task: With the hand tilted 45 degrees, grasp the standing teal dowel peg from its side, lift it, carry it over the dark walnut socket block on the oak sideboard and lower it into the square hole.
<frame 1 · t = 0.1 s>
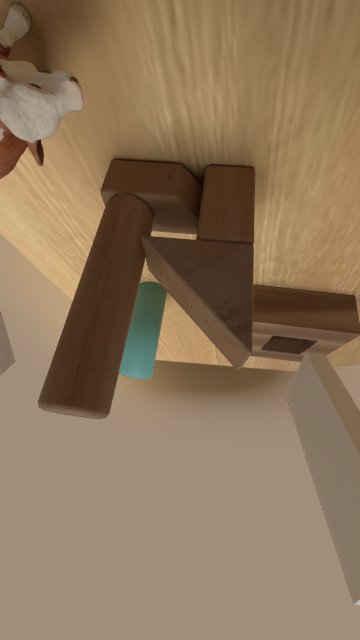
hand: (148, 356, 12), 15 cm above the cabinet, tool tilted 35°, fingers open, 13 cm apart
peg: (152, 290, 36), on the cabinet
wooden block: (182, 181, 21), on the cabinet
bull figurine: (21, 78, 16), on the cabinet
socket block: (285, 312, 37), on the cabinet
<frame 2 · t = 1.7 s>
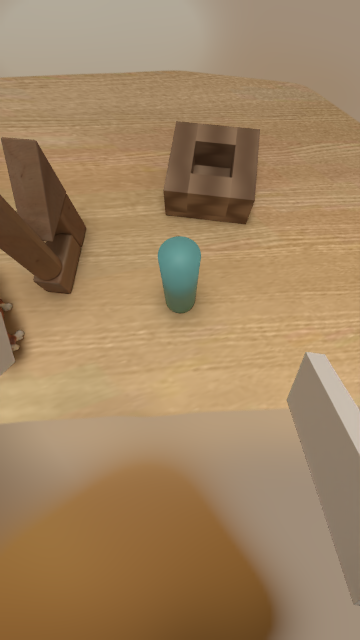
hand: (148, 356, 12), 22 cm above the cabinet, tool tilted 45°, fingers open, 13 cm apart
peg: (180, 299, 36), on the cabinet
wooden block: (67, 258, 38), on the cabinet
bull figurine: (6, 319, 36), on the cabinet
socket block: (209, 186, 41), on the cabinet
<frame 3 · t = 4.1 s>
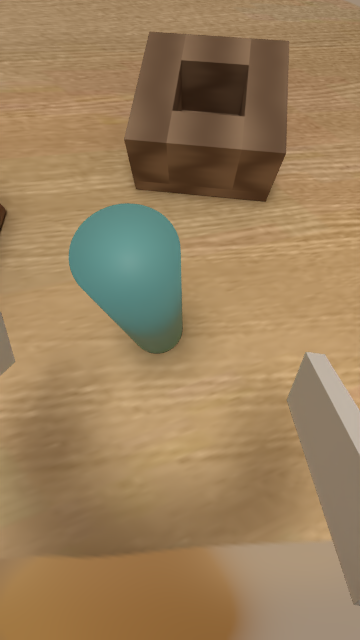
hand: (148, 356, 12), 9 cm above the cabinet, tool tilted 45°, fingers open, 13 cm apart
peg: (157, 328, 21), on the cabinet
socket block: (206, 144, 26), on the cabinet
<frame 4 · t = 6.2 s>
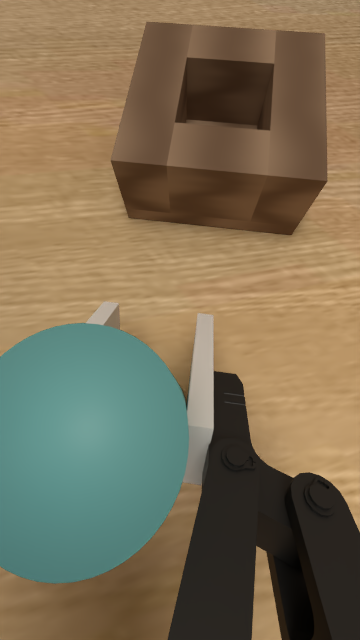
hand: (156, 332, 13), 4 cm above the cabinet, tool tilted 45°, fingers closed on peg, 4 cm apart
peg: (153, 406, 16), on the cabinet, touching gripper
socket block: (216, 161, 21), on the cabinet
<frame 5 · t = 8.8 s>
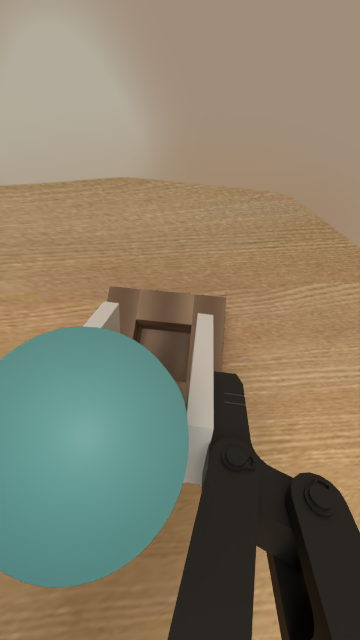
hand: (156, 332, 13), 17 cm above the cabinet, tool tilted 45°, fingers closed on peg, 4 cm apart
peg: (153, 407, 16), point 13 cm above the cabinet, touching gripper
socket block: (163, 356, 30), on the cabinet
when the fingers open (7 cm above the cabinet, at t = 11.3 s): peg drops 2 cm, resting on socket block.
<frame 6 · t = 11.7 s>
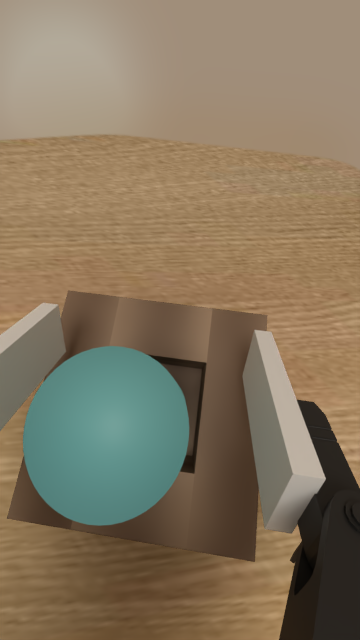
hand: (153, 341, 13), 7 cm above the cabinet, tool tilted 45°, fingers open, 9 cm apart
peg: (156, 405, 18), point 1 cm above the cabinet, touching socket block
socket block: (158, 404, 19), on the cabinet
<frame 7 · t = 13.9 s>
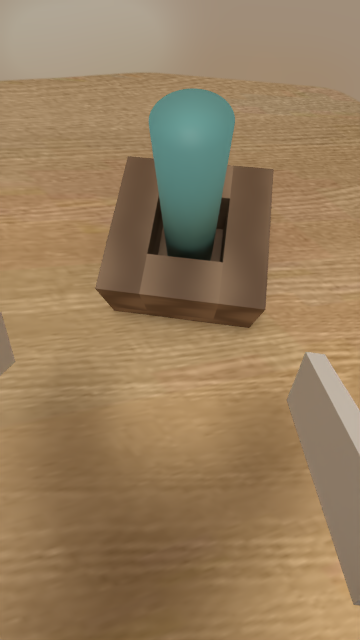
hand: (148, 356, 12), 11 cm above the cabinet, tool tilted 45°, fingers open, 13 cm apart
peg: (189, 253, 24), point 1 cm above the cabinet, touching socket block
socket block: (189, 258, 25), on the cabinet
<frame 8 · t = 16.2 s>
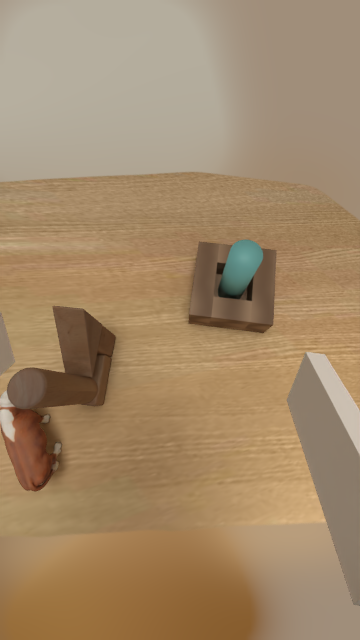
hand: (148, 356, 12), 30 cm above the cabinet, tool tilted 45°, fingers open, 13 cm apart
peg: (229, 291, 43), point 1 cm above the cabinet, touching socket block
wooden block: (99, 368, 41), on the cabinet
bull figurine: (45, 430, 39), on the cabinet
socket block: (228, 293, 44), on the cabinet
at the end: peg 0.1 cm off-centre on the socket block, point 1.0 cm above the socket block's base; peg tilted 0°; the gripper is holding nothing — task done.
